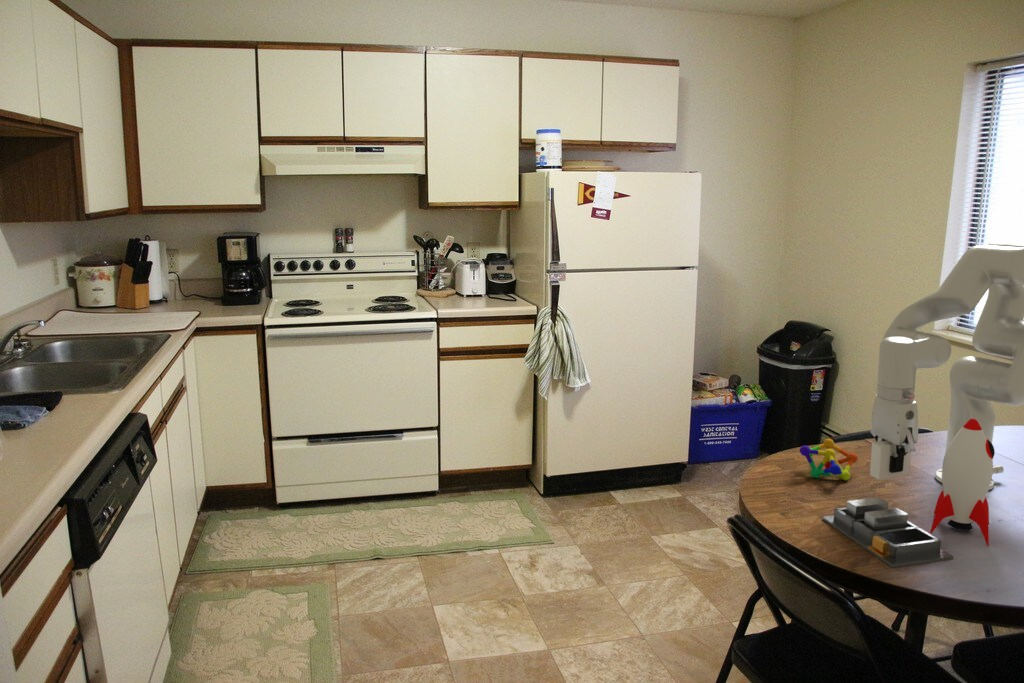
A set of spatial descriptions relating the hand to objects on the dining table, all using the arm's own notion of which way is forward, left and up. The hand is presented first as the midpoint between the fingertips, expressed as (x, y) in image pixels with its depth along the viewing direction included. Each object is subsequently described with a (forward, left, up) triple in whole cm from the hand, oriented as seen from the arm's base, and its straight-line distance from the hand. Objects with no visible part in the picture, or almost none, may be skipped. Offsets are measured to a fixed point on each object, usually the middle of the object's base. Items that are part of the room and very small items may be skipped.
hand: (890, 467), depth 173 cm
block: (0, 0, -2) cm, 2 cm away
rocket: (-6, +15, -9) cm, 19 cm away
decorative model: (+2, -19, -9) cm, 21 cm away
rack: (+12, +14, -9) cm, 21 cm away
